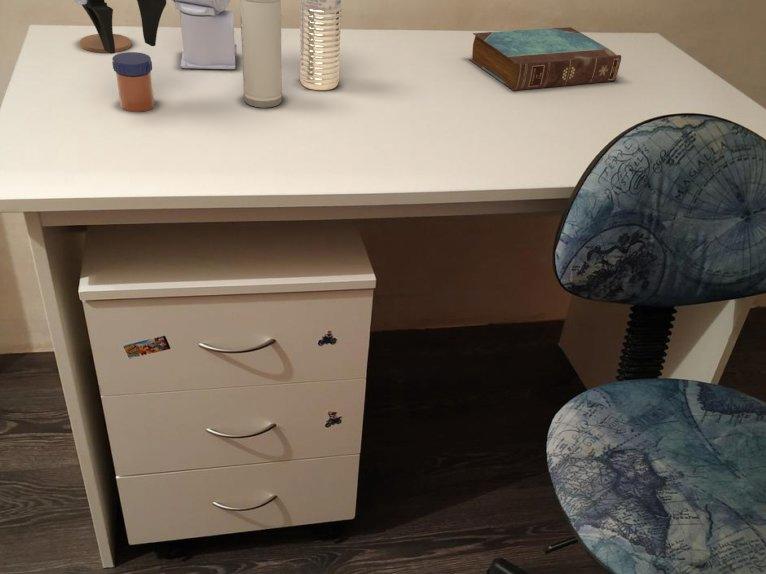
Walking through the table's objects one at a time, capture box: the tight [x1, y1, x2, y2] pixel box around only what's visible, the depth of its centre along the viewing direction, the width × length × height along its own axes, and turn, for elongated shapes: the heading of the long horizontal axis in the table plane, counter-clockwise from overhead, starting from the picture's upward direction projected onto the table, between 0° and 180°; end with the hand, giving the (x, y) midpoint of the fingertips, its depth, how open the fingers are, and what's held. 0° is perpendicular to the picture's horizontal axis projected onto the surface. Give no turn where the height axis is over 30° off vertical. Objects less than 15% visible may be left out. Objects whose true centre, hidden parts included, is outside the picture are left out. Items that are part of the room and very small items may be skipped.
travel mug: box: [239, 0, 283, 109], centre depth 127 cm, size 6×7×20 cm
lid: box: [111, 51, 153, 76], centre depth 124 cm, size 6×6×2 cm
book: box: [469, 26, 622, 91], centre depth 154 cm, size 23×18×5 cm
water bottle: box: [299, 0, 342, 91], centre depth 133 cm, size 7×7×25 cm
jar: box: [115, 71, 155, 113], centre depth 126 cm, size 5×5×7 cm
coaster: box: [79, 33, 132, 54], centre depth 148 cm, size 9×9×1 cm
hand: (130, 47), depth 122 cm, fingers open, 6 cm apart
